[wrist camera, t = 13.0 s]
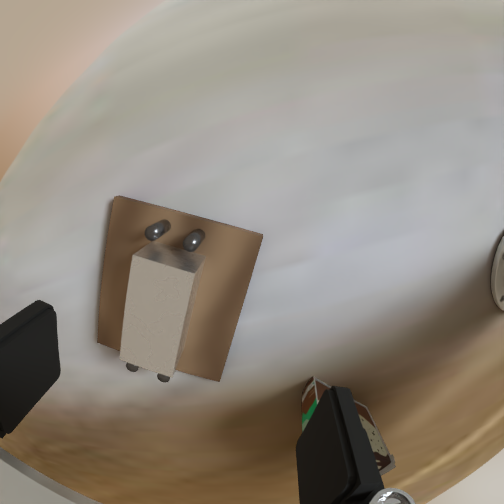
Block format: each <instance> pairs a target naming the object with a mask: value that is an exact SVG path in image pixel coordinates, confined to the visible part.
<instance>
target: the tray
mask: <svg viewBox="0 0 504 504" xmlns="http://www.w3.org/2000/svg"><path fill="white" fill-rule="evenodd" d="M163 219H166V220H168V221H169V222H170V224H171V228H170V230H169V231H168V232H167V233H165V234H164V235H162V236H161V237H159V238H158V239H156V240H155V241H156V242H159V243H162V244H166V245H169V246H173V247H176V248H180V249H183V250H185V249H184V248H183V240H184V239H185V238H186V237H187V236H188V235H189V234H191V233H192V232H193V231H194V230H195V229H201V230H203V231H204V232H205V239H204V240H203V242H202V243H201V244H200V245H199V247H198V248H197V249H196V250H195V251H194V252H193V253H197V254H200V255H204V256H206V258H205V262H204V266H203V270H202V274H201V278H200V282H199V286H198V290H197V294H196V298H195V302H194V307H193V311H192V315H191V319H190V324H189V328H188V332H187V337H186V341H185V346H184V350H183V352H182V354H181V357H180V359H179V362H178V364H177V367H176V370H178V371H182V372H185V373H188V374H192V375H195V376H199V377H203V378H206V379H210V380H214V381H218V382H220V379H221V375H222V372H223V369H224V366H225V362H226V359H227V356H228V352H229V349H230V346H231V342H232V339H233V336H234V332H235V329H236V326H237V323H238V319H239V316H240V313H241V309H242V306H243V303H244V299H245V296H246V293H247V289H248V286H249V282H250V279H251V276H252V272H253V269H254V266H255V262H256V259H257V256H258V252H259V249H260V246H261V242H262V239H263V234H260V233H256V232H253V231H249V230H246V229H242V228H238V227H235V226H231V225H228V224H224V223H220V222H217V221H213V220H209V219H206V218H202V217H198V216H195V215H191V214H187V213H184V212H180V211H176V210H173V209H169V208H165V207H161V206H157V205H154V204H150V203H146V202H142V201H138V200H135V199H131V198H127V197H123V196H115V197H114V201H113V206H112V212H111V218H110V223H109V230H108V236H107V243H106V250H105V257H104V265H103V274H102V283H101V294H100V306H99V320H98V340H97V343H100V344H103V345H105V346H108V347H110V348H113V349H116V350H118V351H120V349H121V338H122V328H123V319H124V311H125V303H126V295H127V288H128V281H129V275H130V268H131V262H132V256H133V254H135V253H136V252H138V251H139V250H141V249H142V248H143V247H145V246H146V245H148V244H149V243H151V242H152V241H149V240H148V239H147V238H146V237H145V229H146V228H147V227H149V226H150V225H152V224H154V223H156V222H158V221H160V220H163Z"/></svg>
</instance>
